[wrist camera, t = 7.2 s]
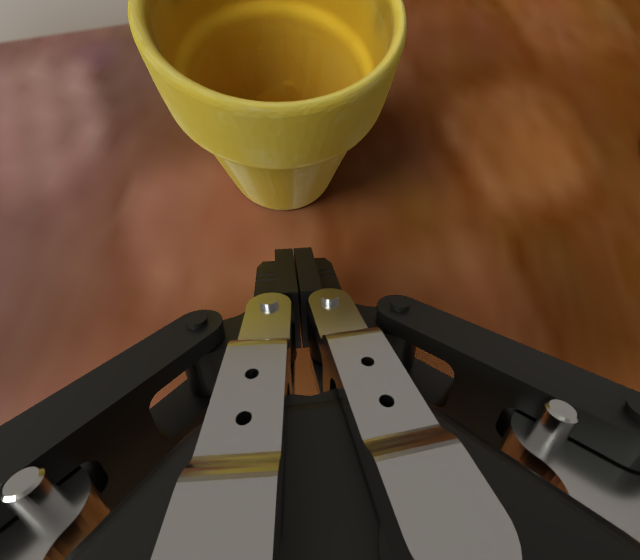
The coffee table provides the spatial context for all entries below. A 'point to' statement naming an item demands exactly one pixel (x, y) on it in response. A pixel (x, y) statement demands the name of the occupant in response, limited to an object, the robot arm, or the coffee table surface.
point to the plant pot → (273, 82)
